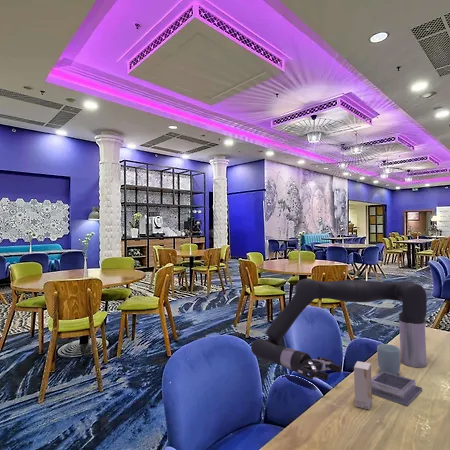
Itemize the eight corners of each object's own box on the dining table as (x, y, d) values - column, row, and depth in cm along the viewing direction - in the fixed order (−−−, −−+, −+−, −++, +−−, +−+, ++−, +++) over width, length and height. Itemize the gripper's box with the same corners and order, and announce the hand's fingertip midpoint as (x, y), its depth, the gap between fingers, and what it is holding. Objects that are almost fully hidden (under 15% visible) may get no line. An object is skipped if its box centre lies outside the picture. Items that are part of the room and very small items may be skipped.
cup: (403, 378, 118) (402, 351, 118) (381, 377, 120) (380, 350, 120) (397, 370, 126) (395, 344, 126) (375, 368, 127) (374, 343, 128)
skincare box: (369, 410, 98) (368, 370, 98) (354, 406, 100) (353, 367, 101) (372, 401, 103) (371, 362, 104) (358, 397, 106) (357, 360, 106)
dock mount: (380, 377, 119) (379, 368, 120) (422, 390, 109) (421, 380, 109) (363, 390, 110) (362, 380, 110) (407, 406, 100) (406, 394, 100)
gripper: (283, 355, 117) (322, 368, 105) (305, 345, 126) (344, 356, 114) (284, 376, 117) (323, 391, 105) (306, 365, 126) (345, 377, 114)
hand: (334, 373), depth 109 cm, fingers open, 8 cm apart
